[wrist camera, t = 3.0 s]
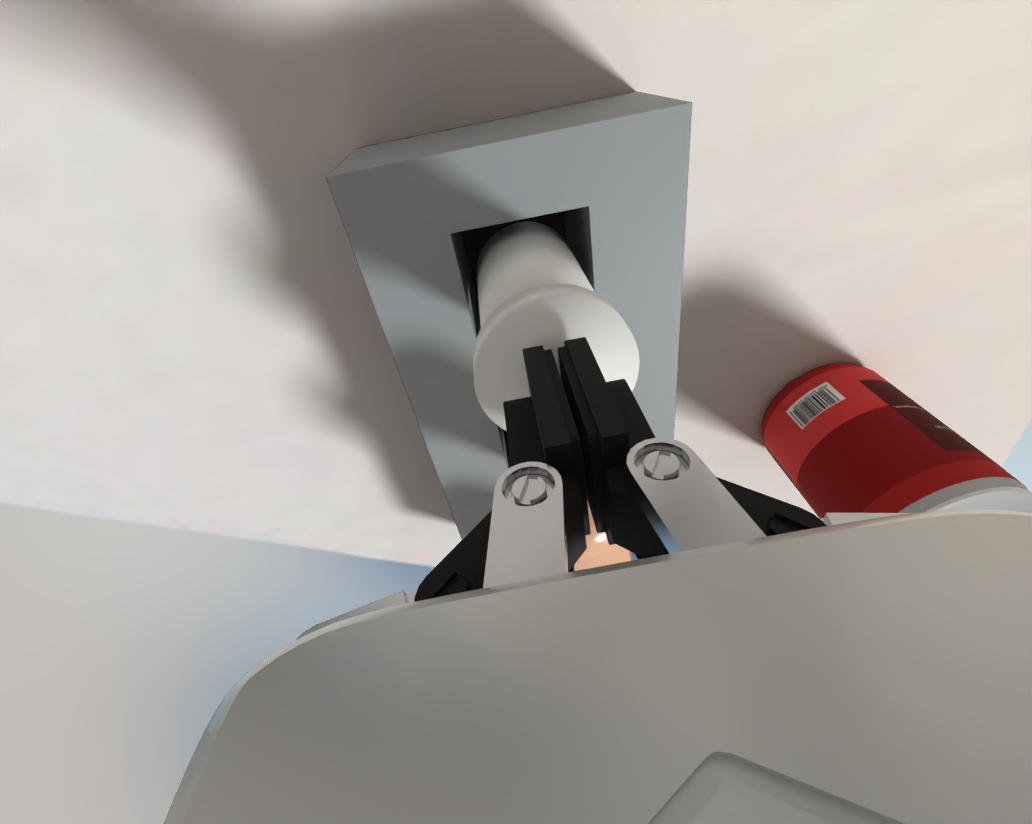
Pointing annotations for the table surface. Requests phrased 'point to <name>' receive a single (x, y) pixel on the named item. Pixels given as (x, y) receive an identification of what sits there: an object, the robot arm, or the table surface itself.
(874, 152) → the table surface
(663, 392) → the socket board
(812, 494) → the canned food
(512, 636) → the robot arm
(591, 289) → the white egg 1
